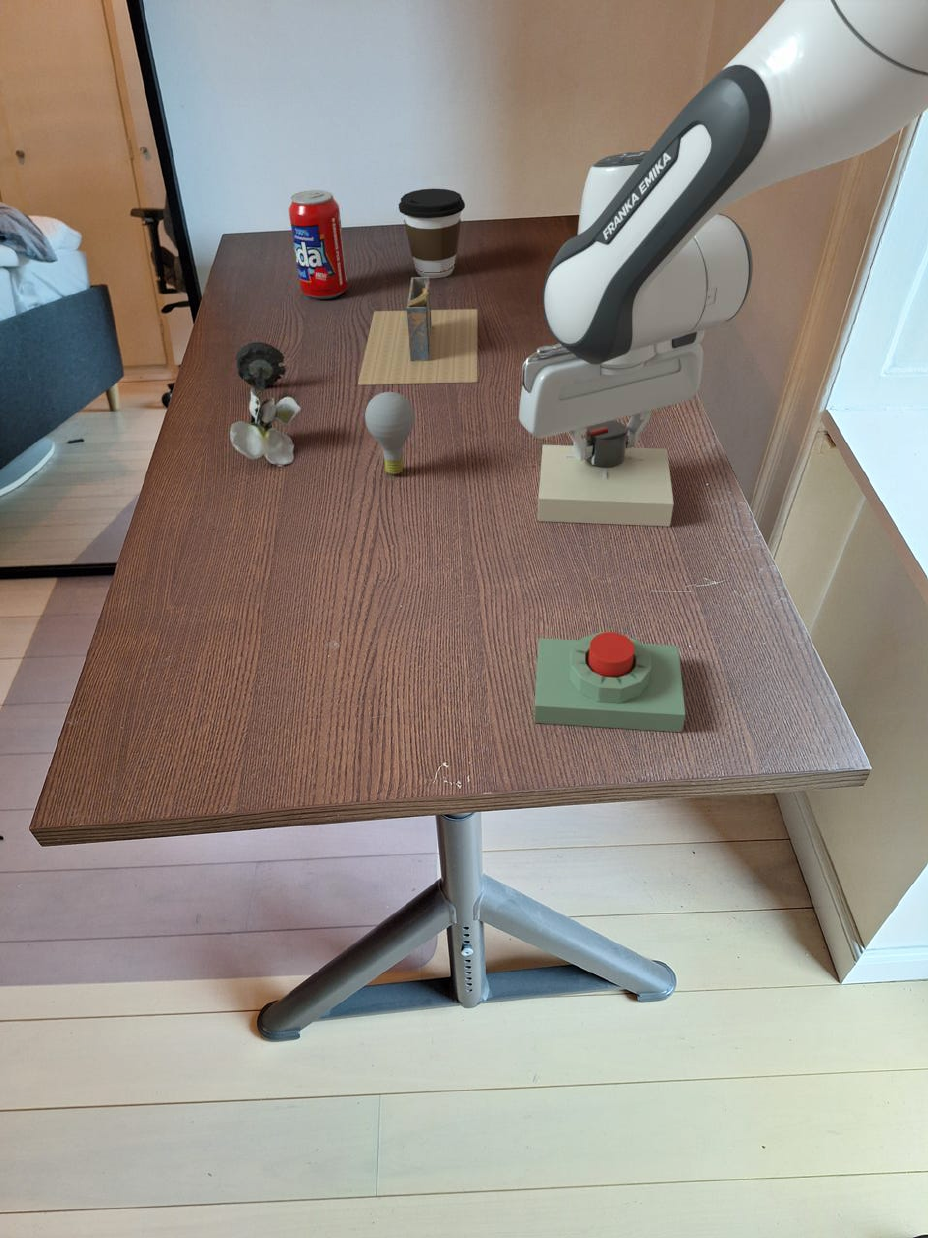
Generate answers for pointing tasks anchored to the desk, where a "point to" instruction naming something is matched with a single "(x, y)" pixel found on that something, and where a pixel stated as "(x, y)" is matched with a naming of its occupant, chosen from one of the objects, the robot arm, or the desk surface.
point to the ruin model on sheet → (421, 343)
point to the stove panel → (605, 488)
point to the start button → (611, 654)
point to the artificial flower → (264, 407)
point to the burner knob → (607, 443)
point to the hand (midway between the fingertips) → (605, 451)
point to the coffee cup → (432, 229)
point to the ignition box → (609, 688)
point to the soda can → (318, 244)
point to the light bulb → (390, 426)
